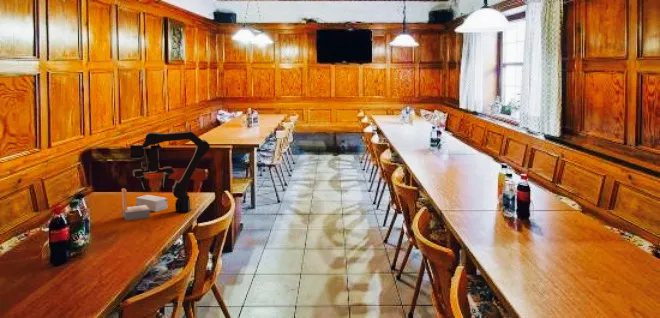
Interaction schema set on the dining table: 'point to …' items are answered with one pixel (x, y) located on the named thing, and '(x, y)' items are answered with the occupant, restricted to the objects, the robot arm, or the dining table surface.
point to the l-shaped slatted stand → (133, 208)
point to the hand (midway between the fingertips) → (154, 188)
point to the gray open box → (136, 215)
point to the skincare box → (152, 202)
